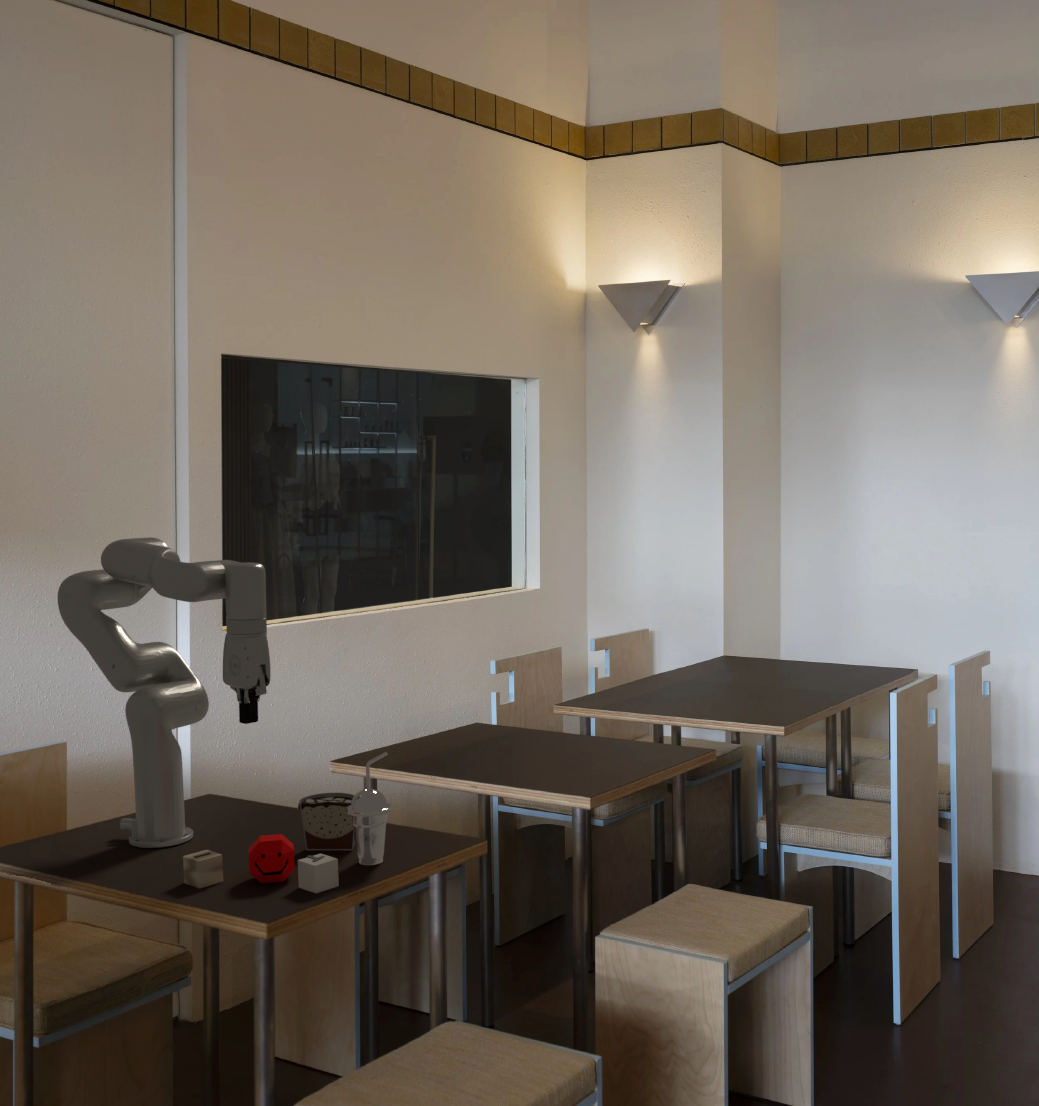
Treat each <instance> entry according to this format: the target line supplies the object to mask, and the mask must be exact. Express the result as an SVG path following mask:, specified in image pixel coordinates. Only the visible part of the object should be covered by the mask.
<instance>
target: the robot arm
mask: <svg viewBox="0 0 1039 1106" xmlns="http://www.w3.org/2000/svg"><path fill="white" fill-rule="evenodd" d="M100 564H101V567H102V569H94V570H86V571H85V570H84V571H80V572H76V573H73V574H71V575H69V576H68V577H66V578H64V579H63V580H62V582H61V583H60V585H59V587H58V591H57V606H58V610H59V614H60V617H61V619H62V621H63V623H64V625H65V627H67V629H68V630H69V631H70V633H71V634H72V635H73V636H74V637H75V638H76V639H77V640H78V641H79V642H80V643H81V644H82V645H83V647H84V648H85V649H86V650H87V652H88V653H89V655H90V656H91V658H92V659H93V661H94V662H95V664H96V665H97V667H98V668H99V669H100V671H101V673H102V674H103V675H104V676H105V678H106V679H107V681H108V682H109V683H110V686H112V687H113V689H115V690H116V691H118V692H120V693H132V694H131V695H130V696H129V697H128V699H127V701H126V704H125V719H126V724H127V727H128V730H129V734H130V740H131V749H132V764H133V765H132V766H133V781H134V783H133V784H134V786H133V787H134V802H135V803H134V804H135V805H134V807H135V818H131V817H126V818H125V817H123V818H121V819H120V822H119V823H120V824H119V829H120V830H121V831H128V830H129V831H131V834H130V835H129V837H128V843H129V845H131V846H132V847H136V848H140V849H141V848H142V849H155V848H158V849H159V848H165V847H166V848H168V847H171V846H172V847H173V846H177V845H181V844H184V843H186V842H189V841H190V840H191V839H192V838H193V837H194V830H193V829H192V828H191V827H188V826H186V821H185V820H186V817H185V816H186V815H185V795H184V774H183V771H184V770H183V755H182V749H181V746H180V744H179V742H178V740H177V739H176V737H175V735H174V733H173V731H172V730H175V729H178V728H182V727H186V726H187V727H188V726H190V725H194V724H196V723H198V722H200V721H202V720H203V719H204V718H205V717H206V716H207V714H208V712H209V707H210V701H209V697H208V694H207V691H206V689H205V686H204V685H203V684H202V683H201V681H200V680H199V678H198V677H197V675H196V674H195V673H194V671H193V669H191V667H190V666H189V664H188V663H187V662H186V661H185V659H184V658H183V656H182V655H181V654H180V652H179V651H178V650H177V649H176V648H174V647H173V645H171V644H169V643H167V642H163V641H152V642H145V643H138V642H137V641H135V640H133V638H132V637H131V636H130V635H129V633H128V632H127V630H126V629H125V628H124V627H123V625H122V624H120V623H119V622H118V621H117V620H116V619H114V618H112V617H111V616H108V615H107V614H105V613H104V612H103V611H105V610H112V609H113V610H114V609H121V608H128V607H131V606H133V605H136V604H137V603H138V602H140V601H141V600H142V599H143V598H144V597H145V596H146V595H147V594H148V593H149V592H150V591H152V589H153V590H154V591H155V592H156V593H157V594H158V595H159V596H162V597H163V598H167V599H171V600H176V601H180V602H187V603H199V602H206V601H215V600H223V599H225V617H226V625H225V626H226V634H225V635H224V636H225V637H224V642H223V650H222V681H223V683H224V684H225V685H227V686H229V687H230V689H231V690H233V691H234V692H235V693H236V700H237V702H238V711H239V712H238V716H239V721H238V722H239V723H240V724H245V725H247V724H253V723H257V722H258V721H259V702H260V699H261V696H263V695H266V694H267V693H268V691H267V687H268V686H269V685H270V683H271V660H270V658H271V657H270V648H269V642H268V637H267V635H268V630H267V629H268V623H267V622H268V621H267V587H266V586H267V584H266V583H267V582H266V581H267V580H266V577H267V575H266V568H265V566H264V565H263V564H262V563H259V562H240V561H236V560H232V559H219V560H206V561H205V560H204V561H197V562H184V561H181V558H180V555H179V554H178V553H177V552H176V550H174V549H173V548H172V547H171V548H170V547H169V545H168V544H167V543H166V542H164V541H163V540H161V539H160V538H158V537H152V536H151V537H136V538H135V537H134V538H123V539H118V540H115V541H112V542H110V543H109V544H107V545H106V546H105V548H103V551H101V556H100Z"/></svg>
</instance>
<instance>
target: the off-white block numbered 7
mask: <svg viewBox="0 0 1039 1106" xmlns="http://www.w3.org/2000/svg"><path fill="white" fill-rule="evenodd" d="M297 875H298V876H297V877H298V888H299V889H302V890H305V891H308V892H311V893H314V894H319V893H321V892H322V893H323V892H325V891H327V890H331V889H334V888H337V887H339V886H340V885H339V883H340V881H339V859H338V858H336V857H333V856H330V855H327V854H324V853H318V854H315V855H314V854H313V855H307V856H306V857H305V858H304V857H303V858H300V859H297Z"/></svg>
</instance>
